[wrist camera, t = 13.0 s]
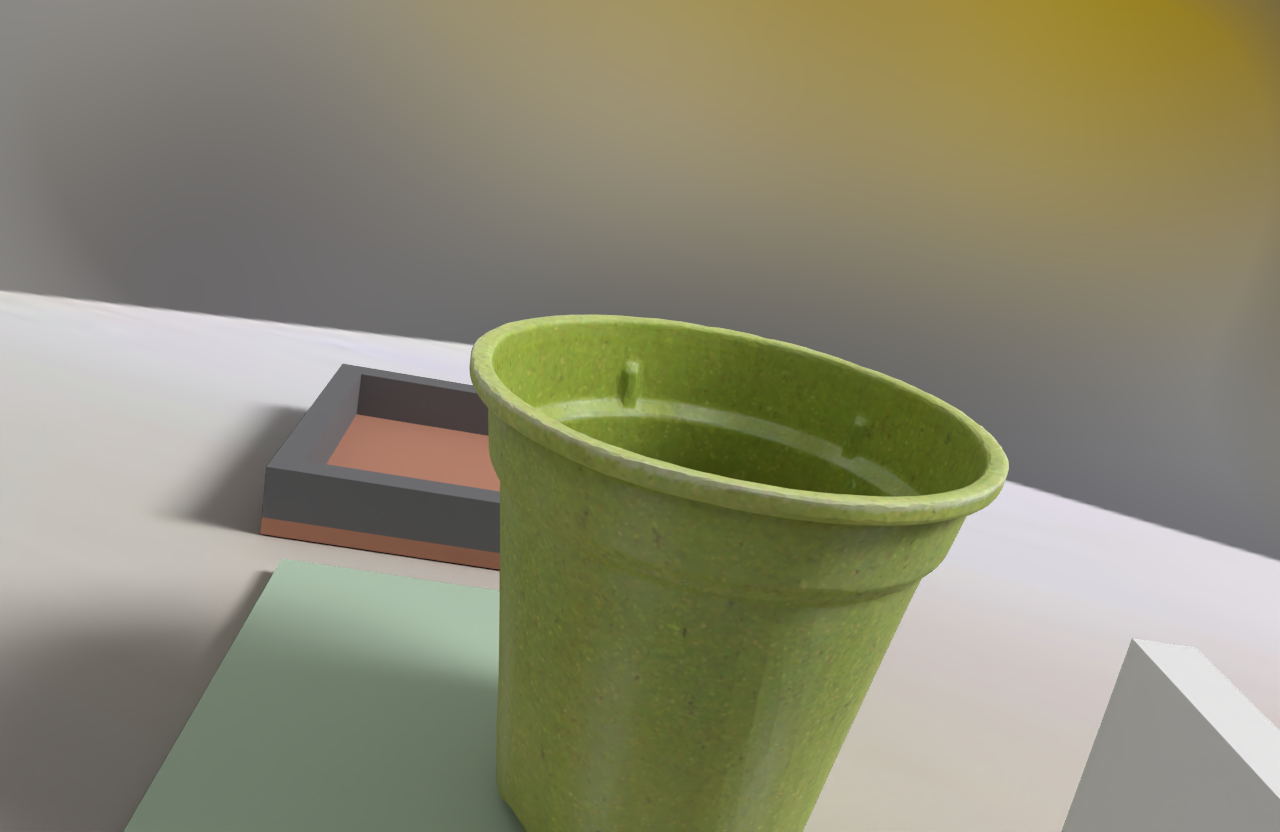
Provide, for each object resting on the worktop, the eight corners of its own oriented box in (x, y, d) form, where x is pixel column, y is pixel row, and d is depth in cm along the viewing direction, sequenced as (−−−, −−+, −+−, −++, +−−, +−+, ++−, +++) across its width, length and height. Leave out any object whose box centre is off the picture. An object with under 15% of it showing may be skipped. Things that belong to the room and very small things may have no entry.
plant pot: (318, 893, 18) (382, 397, 15) (489, 627, 27) (548, 283, 24) (883, 1062, 17) (1058, 564, 14) (868, 729, 26) (974, 382, 23)
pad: (826, 1006, 18) (832, 988, 18) (80, 923, 17) (81, 904, 17) (733, 638, 30) (736, 625, 30) (280, 572, 28) (282, 558, 28)
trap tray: (756, 607, 32) (772, 545, 31) (260, 533, 30) (266, 466, 30) (716, 477, 41) (727, 428, 41) (337, 416, 40) (342, 363, 39)
